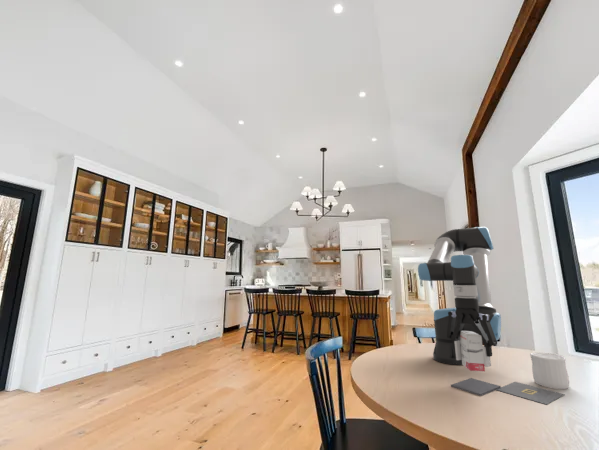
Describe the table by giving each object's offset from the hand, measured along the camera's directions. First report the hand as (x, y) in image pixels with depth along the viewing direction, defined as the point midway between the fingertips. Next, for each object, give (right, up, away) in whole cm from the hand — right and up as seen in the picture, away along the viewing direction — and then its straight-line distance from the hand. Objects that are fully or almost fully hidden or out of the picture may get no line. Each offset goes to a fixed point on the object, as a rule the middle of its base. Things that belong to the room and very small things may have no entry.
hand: (473, 362), depth 102 cm
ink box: (0, -2, 0) cm, 2 cm away
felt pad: (0, -8, -1) cm, 8 cm away
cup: (+28, -8, +1) cm, 29 cm away
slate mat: (+15, -7, -6) cm, 18 cm away
